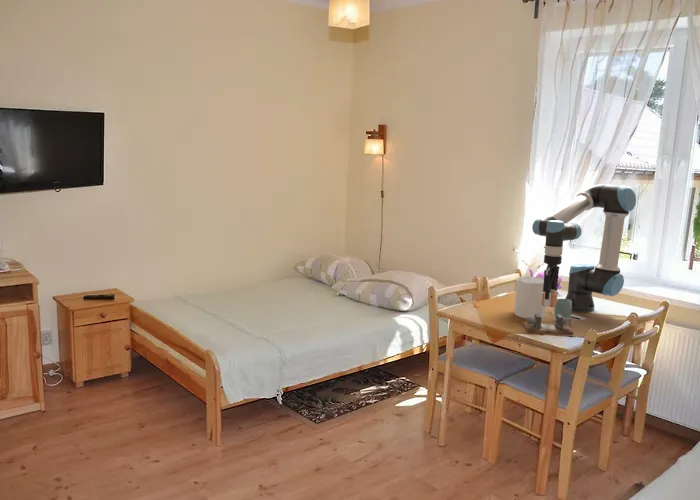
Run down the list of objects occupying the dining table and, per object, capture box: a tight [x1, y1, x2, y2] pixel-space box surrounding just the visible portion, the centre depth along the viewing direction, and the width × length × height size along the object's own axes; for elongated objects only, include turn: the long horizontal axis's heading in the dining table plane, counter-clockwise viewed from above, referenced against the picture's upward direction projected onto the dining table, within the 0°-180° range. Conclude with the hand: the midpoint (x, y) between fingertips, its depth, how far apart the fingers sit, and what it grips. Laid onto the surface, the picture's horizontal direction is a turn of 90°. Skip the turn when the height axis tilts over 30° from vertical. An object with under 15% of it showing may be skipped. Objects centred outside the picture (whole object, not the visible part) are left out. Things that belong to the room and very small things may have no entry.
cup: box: [553, 298, 572, 320], centre depth 295 cm, size 8×8×10 cm
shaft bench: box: [523, 314, 574, 335], centre depth 282 cm, size 20×11×7 cm, turn 85°
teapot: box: [527, 268, 563, 292], centre depth 350 cm, size 20×14×12 cm
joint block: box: [542, 291, 558, 309], centre depth 280 cm, size 5×5×7 cm
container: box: [513, 276, 546, 319], centre depth 304 cm, size 14×14×18 cm
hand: (549, 304), depth 280 cm, fingers closed on joint block, 5 cm apart
